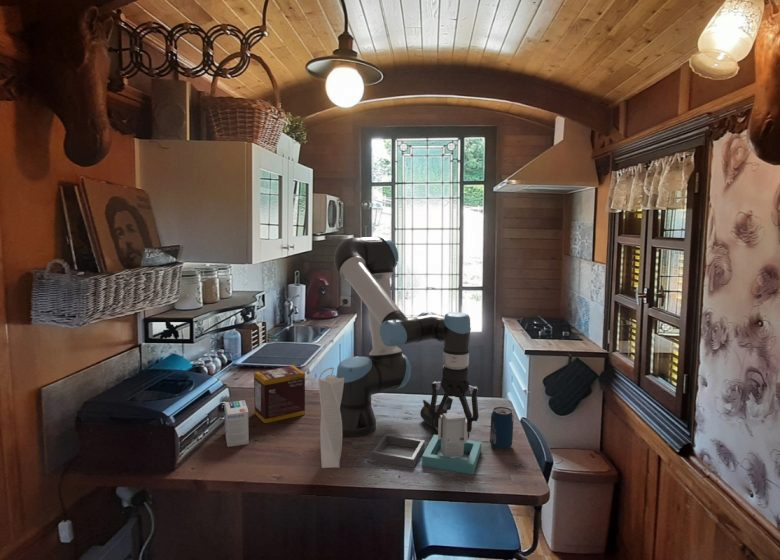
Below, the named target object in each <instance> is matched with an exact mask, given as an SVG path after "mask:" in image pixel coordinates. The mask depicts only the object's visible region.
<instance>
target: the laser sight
mask: <svg viewBox="0 0 780 560" xmlns="http://www.w3.org/2000/svg"><path fill="white" fill-rule="evenodd" d="M453 400H454V399H453V398H451V397H450V396H448V398H447V401H446V403H445V405H444V407H443V409H442V412H441V414H440V415H442V414H444V413H448V411H450V410H451V408H452V405H453ZM422 403H423V406H422V408H421V409H420V413H419V414H420V418H421V419H422V420H423V421H424V422H425V423H426V424H428V425H429V426H430V427H432V428H433V429H434V430H435V431H437V432H438V427H435V416H434V415H430V414H429V411H430V405H431V402H429V401H427V400H426V399H422ZM439 405H440V403H439V404H436V407H435V410H438V407H439ZM468 440H470V432H468Z"/></svg>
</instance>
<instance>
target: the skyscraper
mask: <svg viewBox="0 0 780 560" xmlns="http://www.w3.org/2000/svg"><path fill="white" fill-rule="evenodd" d="M334 369H335V367H329V368H326V369H325V370H323V371H322V372H321V374H320V375H319V376H318V380H317V381H318V392H319V393H318V394H319V400H320V401H319V402H320V409H321V414H320V424H319V425H320V427H319V429H320V431H319V433H320V434H319V435H320V439H319V440H320V442H319V443H320V461H321V462H320V463H321V468H322V469H325V468H327V469H329V468H338V469H339V468H341V466H340V462H341V457H342V447H343V435H342V419H341V413H340V405H341V400H342V394H343V386H344V378H343V377H342V378H337V377H336V375H334V371H335V370H334ZM329 370H331V374H328V375H326V377H322V375H324V373H325V372H327V371H329ZM321 377H322V378H321Z"/></svg>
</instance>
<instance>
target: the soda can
mask: <svg viewBox="0 0 780 560" xmlns="http://www.w3.org/2000/svg"><path fill="white" fill-rule="evenodd" d="M489 431H490V432H489V433H490V434H489V443H490V445H491V447H492V448H493V449H495V450H497V451H508V450H510V448H511V447H512V445H513V437H514V414H513V410H512V409H511V408H508V407H506V406H505V407H504V406H496V407H494V408H493V410H492V412H491V414H490V430H489Z"/></svg>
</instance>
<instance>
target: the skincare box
mask: <svg viewBox="0 0 780 560" xmlns="http://www.w3.org/2000/svg"><path fill="white" fill-rule="evenodd" d="M465 420H466V416H465V415H463V413H462V412H447V413H444V414H442V434H441V448H440V453H442V456H445V457H451V458H457V457H463V456H464V455H465V454H464V452H465V451H464V422H465Z"/></svg>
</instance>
